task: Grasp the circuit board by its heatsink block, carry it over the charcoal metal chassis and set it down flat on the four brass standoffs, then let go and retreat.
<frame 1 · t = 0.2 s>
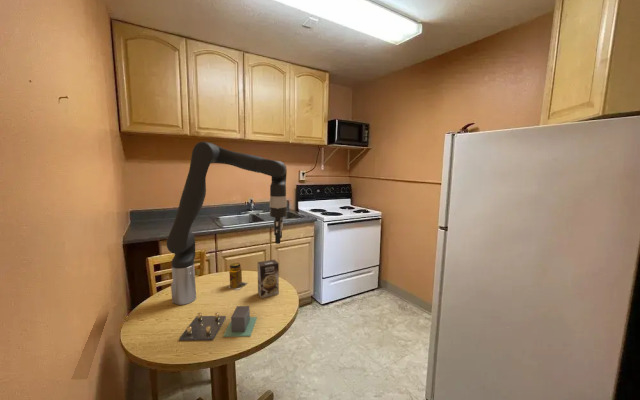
hand: (278, 240, 121), 29 cm above the table, fingers open, 8 cm apart
board: (241, 327, 104), on the table
condiment: (237, 285, 139), on the table
coffee box: (268, 294, 131), on the table
chassis: (204, 328, 103), on the table
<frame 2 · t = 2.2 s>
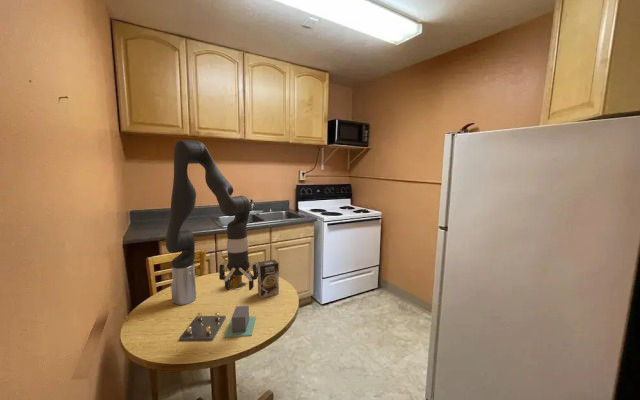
hand: (239, 289, 102), 16 cm above the table, fingers open, 8 cm apart
nothing on the table moved.
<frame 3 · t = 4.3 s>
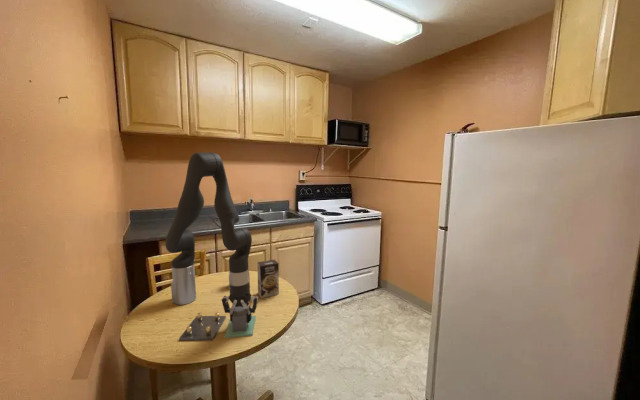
hand: (241, 321, 103), 2 cm above the table, fingers closed on board, 5 cm apart
board: (241, 326, 104), on the table, touching gripper
everything else where it was.
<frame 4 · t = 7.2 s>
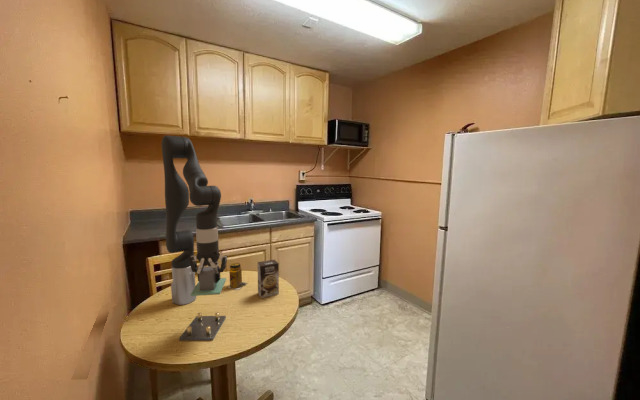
hand: (209, 281, 101), 19 cm above the table, fingers closed on board, 5 cm apart
board: (209, 287, 101), point 17 cm above the table, touching gripper
everything else where it was.
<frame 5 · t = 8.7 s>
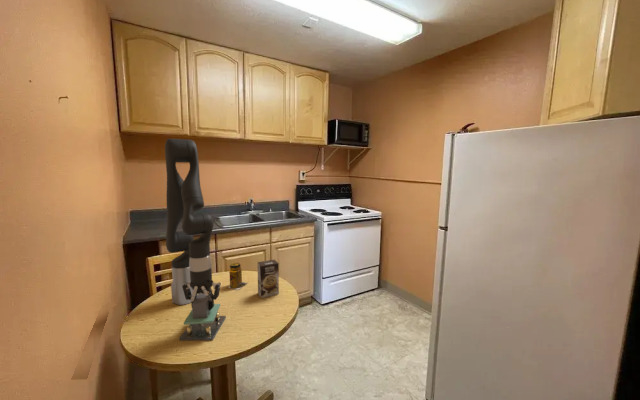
hand: (203, 308, 101), 8 cm above the table, fingers closed on board, 5 cm apart
board: (203, 314, 102), point 6 cm above the table, touching gripper
everything else where it was.
when the fingers open (6 cm above the table, at t = 10.2 s): board stays where it is, resting on chassis.
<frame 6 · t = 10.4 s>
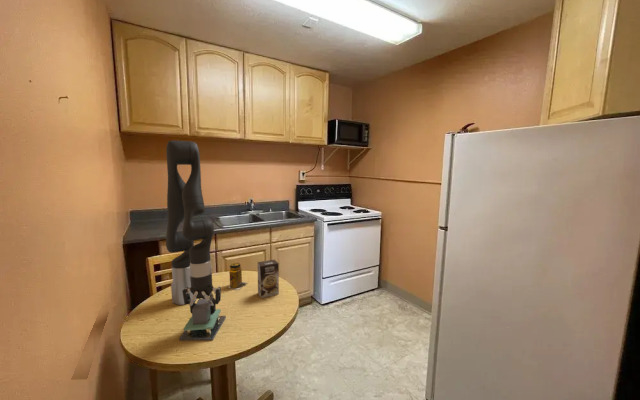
hand: (203, 313, 102), 6 cm above the table, fingers open, 6 cm apart
board: (203, 320, 102), point 3 cm above the table, touching chassis
everything else where it was.
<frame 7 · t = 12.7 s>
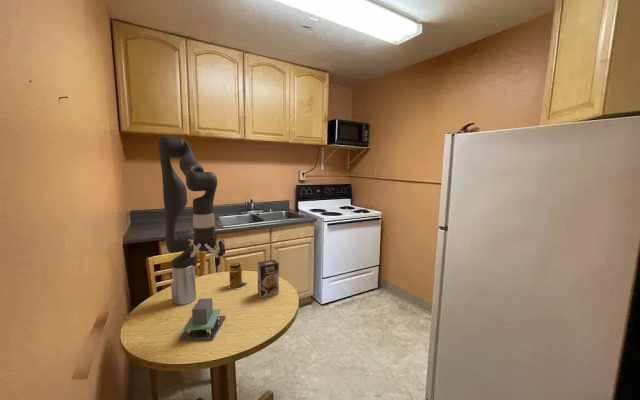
hand: (206, 265, 102), 24 cm above the table, fingers open, 8 cm apart
nothing on the table moved.
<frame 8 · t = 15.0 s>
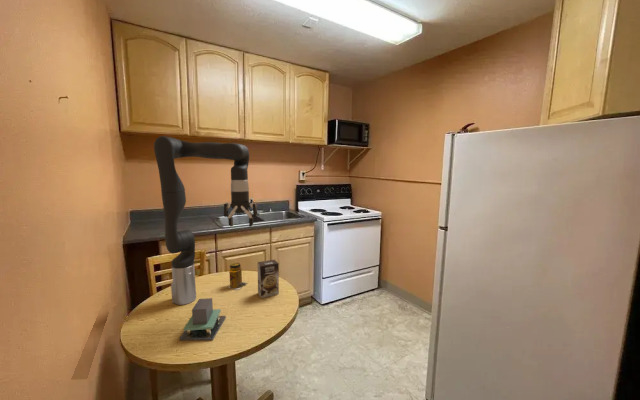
hand: (241, 226, 118), 36 cm above the table, fingers open, 8 cm apart
nothing on the table moved.
at the end: board 0.1 cm off-centre on the chassis, point 3.5 cm above the chassis's base; board tilted 0°; the gripper is holding nothing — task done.
